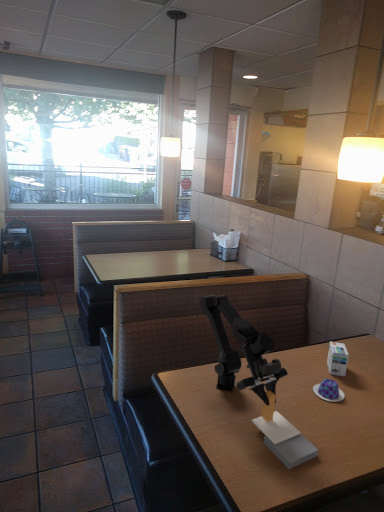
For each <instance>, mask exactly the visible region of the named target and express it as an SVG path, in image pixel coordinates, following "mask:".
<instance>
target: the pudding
mask: <svg viewBox="0 0 384 512" xmlns="http://www.w3.org/2000/svg"><path fill="white" fill-rule="evenodd" d="M312 390H313V393H314V394H315V395H316V396H317V397H318V398H320V399H322V400H325V401H327V402H336V403H337V402H341V401H343V400H344V399H345V392H343V391H342V389H340V388H339V384H338V382H337V381H336V380H333V379H331V378H324V379H323V380H322V381H321V383H317V384H314V385H313V387H312Z"/></svg>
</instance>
